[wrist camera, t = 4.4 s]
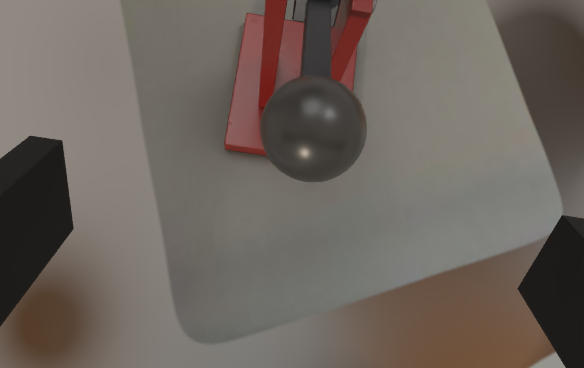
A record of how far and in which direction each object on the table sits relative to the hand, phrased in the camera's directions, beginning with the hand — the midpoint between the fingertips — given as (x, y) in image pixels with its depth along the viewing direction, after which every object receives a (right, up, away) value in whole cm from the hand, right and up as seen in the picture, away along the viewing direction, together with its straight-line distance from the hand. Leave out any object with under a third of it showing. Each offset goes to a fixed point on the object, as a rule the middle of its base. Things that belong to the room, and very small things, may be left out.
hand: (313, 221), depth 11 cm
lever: (0, +6, +8) cm, 10 cm away
